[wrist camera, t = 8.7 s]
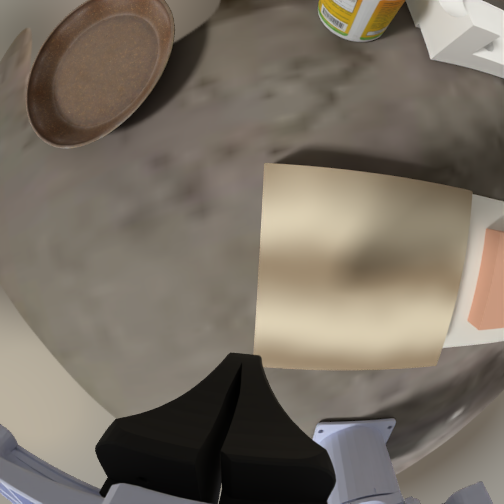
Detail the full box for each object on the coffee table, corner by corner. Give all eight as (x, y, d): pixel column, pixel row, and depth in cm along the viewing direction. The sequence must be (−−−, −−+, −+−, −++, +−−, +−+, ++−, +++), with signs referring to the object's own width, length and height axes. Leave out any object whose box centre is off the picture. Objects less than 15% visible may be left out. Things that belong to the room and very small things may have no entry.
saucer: (218, 75, 18) (209, 60, 15) (72, 185, 21) (51, 186, 18) (145, -21, 16) (134, -36, 13) (32, 74, 19) (15, 69, 16)
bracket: (425, 63, 16) (473, 25, 9) (402, -2, 15) (433, -48, 7) (523, 89, 15) (571, 75, 7) (502, 30, 13) (541, 6, 6)
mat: (511, 338, 20) (513, 339, 19) (426, 347, 21) (427, 348, 20) (538, 211, 17) (540, 212, 17) (455, 190, 18) (457, 190, 18)
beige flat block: (421, 347, 21) (436, 365, 18) (256, 344, 22) (253, 366, 19) (450, 189, 18) (472, 190, 15) (266, 167, 19) (264, 162, 16)
